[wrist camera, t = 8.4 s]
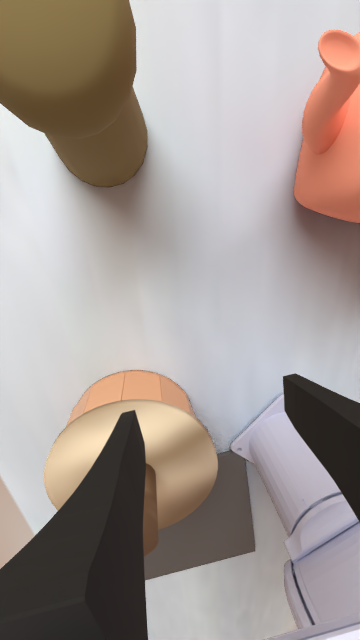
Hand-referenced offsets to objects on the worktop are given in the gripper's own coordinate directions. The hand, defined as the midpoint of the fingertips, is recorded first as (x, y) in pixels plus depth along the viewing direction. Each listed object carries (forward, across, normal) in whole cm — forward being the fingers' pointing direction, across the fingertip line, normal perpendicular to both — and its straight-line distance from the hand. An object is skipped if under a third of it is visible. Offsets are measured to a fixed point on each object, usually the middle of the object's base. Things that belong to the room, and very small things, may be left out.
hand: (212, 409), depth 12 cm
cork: (+11, +3, -14) cm, 18 cm away
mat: (+10, +4, +23) cm, 26 cm away
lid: (+6, +6, +9) cm, 12 cm away
